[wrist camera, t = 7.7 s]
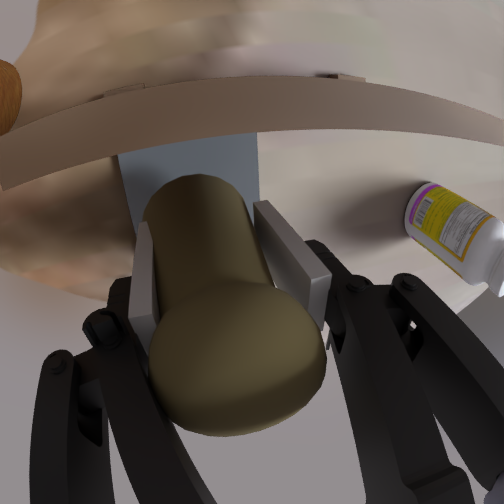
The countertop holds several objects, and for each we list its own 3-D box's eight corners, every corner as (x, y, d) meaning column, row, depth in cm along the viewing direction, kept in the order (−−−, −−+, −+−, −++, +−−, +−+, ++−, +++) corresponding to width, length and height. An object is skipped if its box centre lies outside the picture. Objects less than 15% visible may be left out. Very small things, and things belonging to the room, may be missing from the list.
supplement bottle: (440, 220, 28) (519, 280, 18) (403, 246, 28) (484, 320, 18) (439, 171, 24) (536, 227, 14) (398, 195, 24) (503, 268, 14)
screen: (102, 93, 14) (-15, 103, 3) (358, 78, 17) (514, 105, 7) (108, 137, 15) (14, 226, 5) (358, 114, 19) (507, 165, 9)
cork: (267, 196, 16) (398, 343, 7) (223, 282, 18) (287, 447, 9) (162, 157, 13) (169, 319, 4) (129, 259, 15) (123, 453, 6)
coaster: (117, 143, 16) (115, 144, 15) (253, 121, 18) (256, 122, 17) (144, 260, 21) (144, 265, 20) (258, 238, 22) (261, 242, 22)
